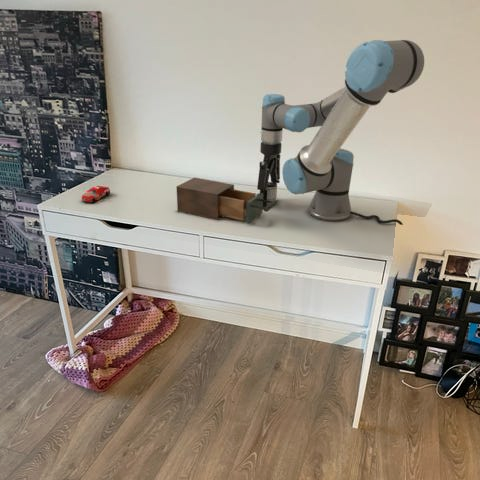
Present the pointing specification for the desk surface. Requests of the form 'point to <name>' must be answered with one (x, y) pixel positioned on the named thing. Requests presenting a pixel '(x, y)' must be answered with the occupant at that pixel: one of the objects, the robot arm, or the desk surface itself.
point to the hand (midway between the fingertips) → (267, 203)
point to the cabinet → (201, 197)
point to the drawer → (243, 205)
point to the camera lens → (271, 192)
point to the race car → (96, 193)
